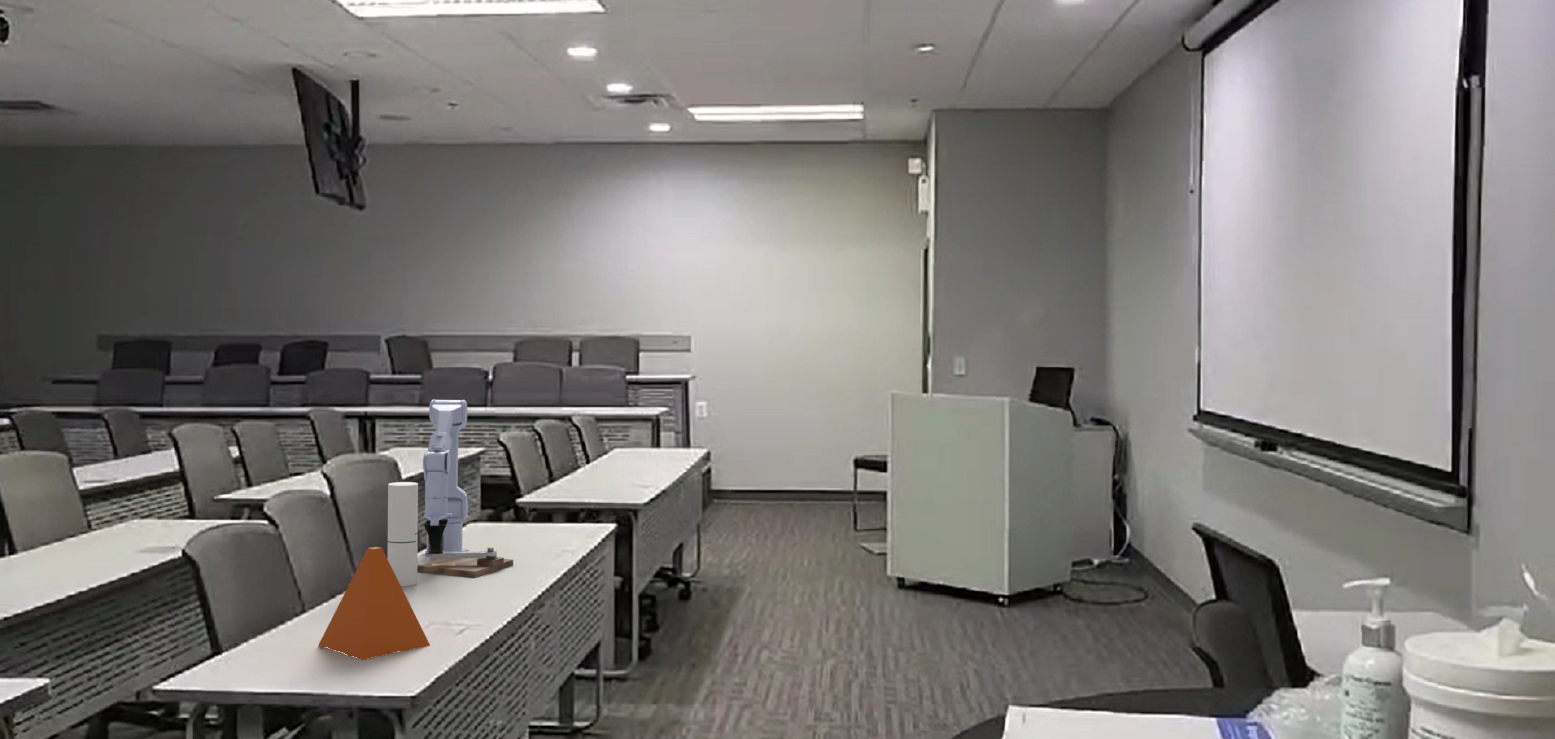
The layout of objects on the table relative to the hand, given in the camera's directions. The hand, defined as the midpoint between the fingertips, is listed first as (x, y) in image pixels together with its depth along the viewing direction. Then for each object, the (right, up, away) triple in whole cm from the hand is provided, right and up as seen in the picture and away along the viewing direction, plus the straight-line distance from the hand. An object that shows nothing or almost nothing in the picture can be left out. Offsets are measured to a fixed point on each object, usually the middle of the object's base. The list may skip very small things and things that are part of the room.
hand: (435, 548), depth 328 cm
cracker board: (+7, -6, +5) cm, 10 cm away
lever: (+7, -3, +2) cm, 7 cm away
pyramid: (+8, -9, -76) cm, 77 cm away
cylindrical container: (-4, -7, -16) cm, 18 cm away
